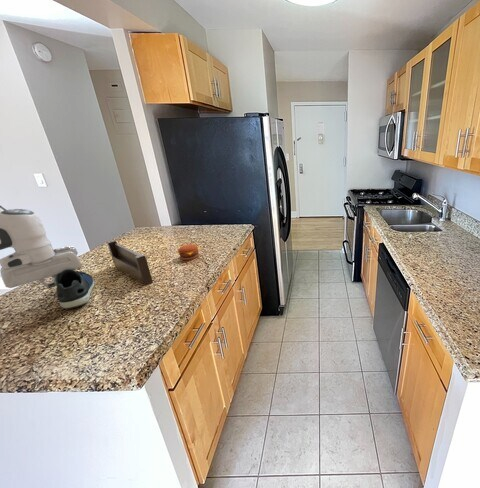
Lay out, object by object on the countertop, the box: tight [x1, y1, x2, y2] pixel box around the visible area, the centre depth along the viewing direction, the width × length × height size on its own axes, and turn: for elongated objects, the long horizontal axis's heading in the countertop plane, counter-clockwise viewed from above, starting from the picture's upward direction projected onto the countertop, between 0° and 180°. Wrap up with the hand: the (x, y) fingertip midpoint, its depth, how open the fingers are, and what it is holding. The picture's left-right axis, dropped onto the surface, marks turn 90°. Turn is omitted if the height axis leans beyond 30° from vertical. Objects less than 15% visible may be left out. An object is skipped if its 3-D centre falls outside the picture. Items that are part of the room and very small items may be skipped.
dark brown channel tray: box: [106, 239, 154, 286], centre depth 118 cm, size 3×32×13 cm, turn 56°
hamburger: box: [175, 243, 202, 261], centre depth 136 cm, size 9×10×7 cm
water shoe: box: [55, 269, 95, 310], centre depth 103 cm, size 10×29×12 cm, turn 43°
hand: (52, 286), depth 98 cm, fingers closed
